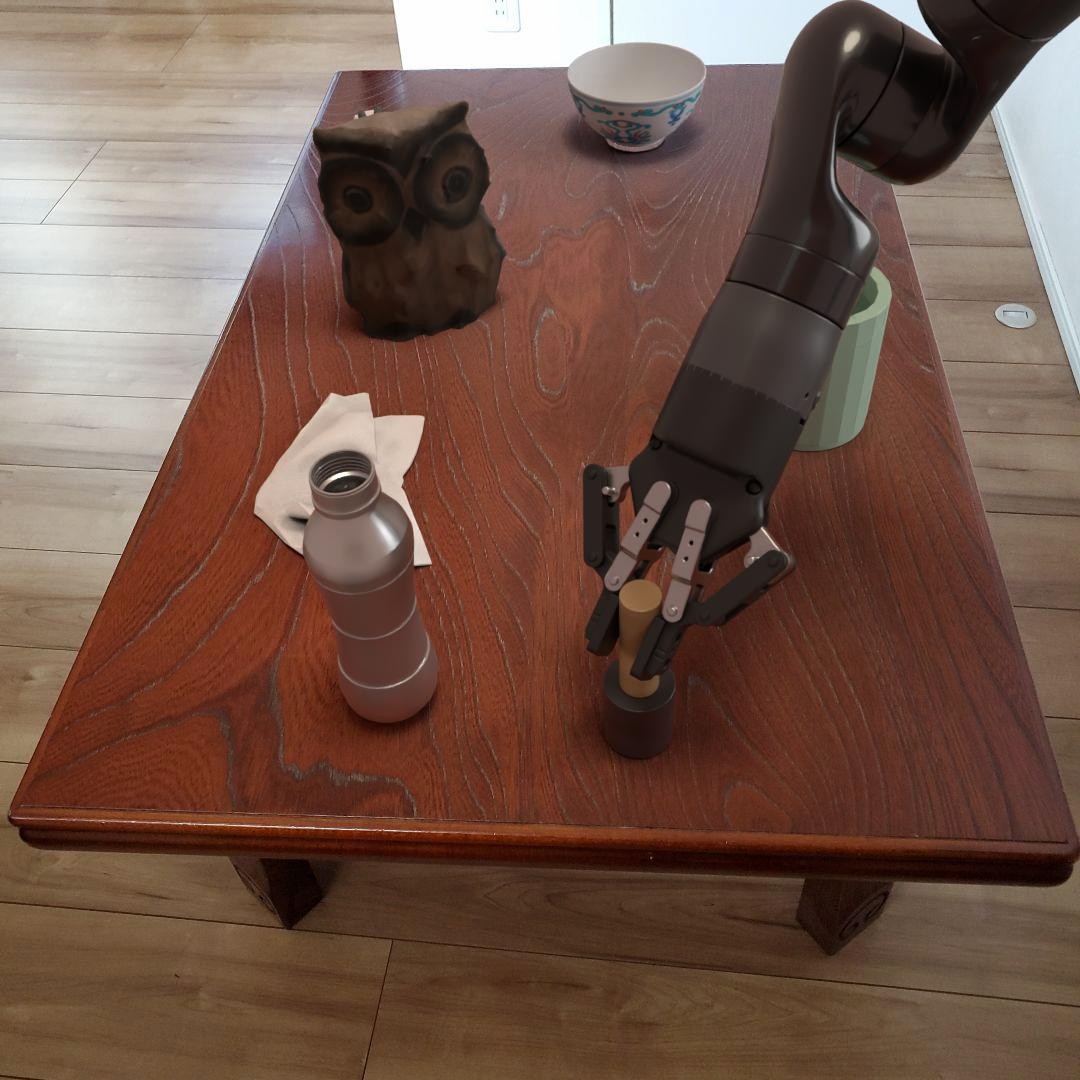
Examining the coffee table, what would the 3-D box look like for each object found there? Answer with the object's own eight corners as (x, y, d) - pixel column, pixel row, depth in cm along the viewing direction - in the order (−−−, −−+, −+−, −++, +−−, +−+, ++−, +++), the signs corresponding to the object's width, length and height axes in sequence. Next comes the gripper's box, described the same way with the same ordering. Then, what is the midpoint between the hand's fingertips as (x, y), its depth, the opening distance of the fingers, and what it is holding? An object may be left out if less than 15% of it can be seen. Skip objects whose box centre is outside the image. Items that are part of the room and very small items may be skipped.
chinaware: (542, 149, 126) (539, 81, 120) (618, 97, 134) (618, 31, 128) (654, 184, 119) (656, 114, 113) (727, 128, 127) (732, 60, 121)
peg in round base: (647, 690, 73) (651, 555, 64) (686, 738, 71) (696, 604, 61) (590, 720, 72) (586, 586, 63) (628, 770, 69) (629, 638, 60)
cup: (811, 360, 97) (830, 237, 88) (891, 422, 91) (920, 296, 82) (717, 400, 94) (727, 277, 85) (794, 467, 88) (813, 342, 79)
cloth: (271, 402, 97) (265, 381, 95) (430, 388, 97) (427, 367, 95) (237, 635, 79) (229, 614, 77) (432, 617, 79) (428, 596, 77)
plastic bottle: (330, 727, 73) (260, 507, 58) (366, 646, 77) (308, 424, 63) (424, 744, 71) (376, 523, 57) (455, 661, 76) (417, 438, 62)
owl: (515, 299, 106) (498, 91, 91) (433, 370, 99) (402, 157, 84) (410, 263, 111) (379, 61, 96) (325, 328, 104) (278, 121, 89)
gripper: (615, 326, 61) (492, 610, 64) (847, 419, 55) (700, 730, 57) (666, 356, 68) (552, 612, 70) (878, 442, 62) (745, 720, 64)
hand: (619, 664), depth 64 cm, fingers closed on peg in round base, 2 cm apart
